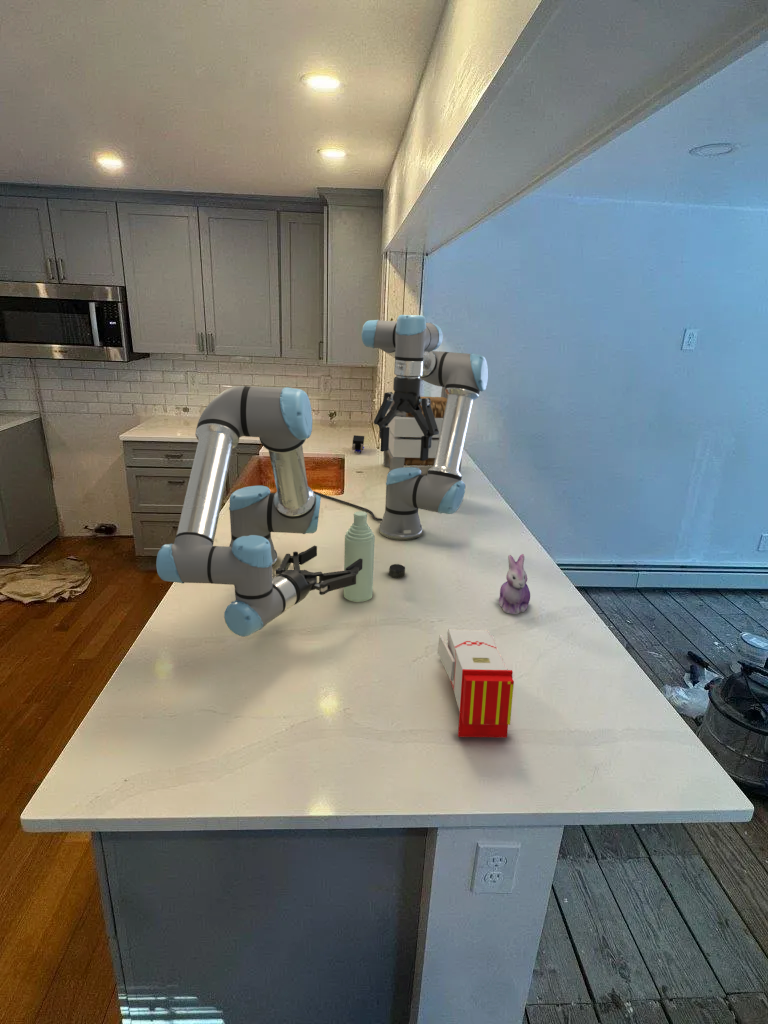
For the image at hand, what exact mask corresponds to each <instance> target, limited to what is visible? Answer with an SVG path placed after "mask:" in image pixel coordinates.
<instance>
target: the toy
mask: <svg viewBox="0 0 768 1024" xmlns="http://www.w3.org/2000/svg"><path fill="white" fill-rule="evenodd" d="M446 640H447V643H446V641H445V639H444V636H443V635H442V634H439V637H438V646H437V656H438V657H439V659H440V661H441V663H442V666H443V668H444V670H445V672H446V674H447V677H448V679H449V681H450V684H451V687H452V690H453V693H454V697H455V701H456V705H457V708H458V711H459V714H458V715H459V716H458V730H457V731H458V732H457V737H458V738H508V731H509V726H510V725H511V717H512V707H513V697H514V696H513V695H514V684H515V680H514V679H513V673H514V671H513V670H512V669H508V667H507V665H506V662H505V661H504V659H503V658H502V655H501V653H500V651H499V649H498V647H497V643H496V639H495V637H494V635H493V634H491V632H490V631H489V629H467V628H466V629H465V628H463V629H461V628H460V629H459V628H448V630H447V639H446Z"/></svg>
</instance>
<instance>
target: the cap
mask: <svg viewBox="0 0 768 1024" xmlns="http://www.w3.org/2000/svg"><path fill="white" fill-rule="evenodd" d="M405 575H406V567H405V566H404V565H402V564H399V563H394V564H391V565H389V568H388V576H389V577H390V578H392V579H402V578H404V577H405Z"/></svg>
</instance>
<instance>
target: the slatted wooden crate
mask: <svg viewBox="0 0 768 1024" xmlns="http://www.w3.org/2000/svg"><path fill="white" fill-rule="evenodd" d="M440 393H441V394H440V396H420V397H421V398H430V399H431V408H432V412H433V415H434V418H435V421H436V424H437V427H438V430H439V434H437V435H433V436H432V442H431V448H429V451H428V459H427V460H423V461H421V460H420V452H421V437H422V436H424V434H423V432H422V430H421V429H420V427H419V425H418V423H417V421H416V420H415V418H414V416H413V415H411V413H406V412H398V413H397V414H396V416H395V417H394V418H393V419H392V420H391V422H390V423H389V424H388V425H387V426H386V427H389V449H388V450H387V451H383V466H384V467H388V468H389V472H390V471H391V470H393V469H397V468H404V467H405V466H406V467H417V466H418V467H432V466H433V465H434V461H435V456H436V451H437V446H438V441H439V437H440V432H441V427H442V422H443V417H444V413H445V408H446V403H447V398H448V396H447V394H446V393H445V387H441V392H440ZM394 404H395V402H394V400H393V401H392V402H391V405H390V407H389V409H388V411H387V413H386V415H387V414H388V412H389V411H390V410H391V407H392V406H393V405H394ZM420 404H421V403H420ZM420 404H419V407H420V408H421V410H422V406H421V405H420ZM415 411H416V410H415ZM422 414H423V416H424V413H423V410H422ZM386 415H385V416H386ZM424 418H425V416H424ZM462 461H463V460H462V457H461V461H460V466H459V472H460V474H461V475H462V473H461V472H462Z"/></svg>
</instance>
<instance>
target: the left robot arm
mask: <svg viewBox="0 0 768 1024" xmlns="http://www.w3.org/2000/svg"><path fill="white" fill-rule="evenodd" d="M312 411H313V410H312V405H311V401H310V398H309V395H308V393H307V392H306V391H305V390H303V389H301V388H293V387H290V386H286V387H285V386H284V387H276V386H275V387H274V386H249V385H248V386H247V385H235V386H232V387H230V388H226V389H225V390H223V391H221V392H220V393H219V394H217V395H215V397H213V398H212V400H211V401H210V402H209V403H208V404H207V405H206V407H205V409H204V410H203V411H202V413H201V415H200V416H199V418H198V421H197V425H196V429H195V438H196V439H197V445H196V449H195V454H194V458H193V461H192V466H191V470H190V474H189V480H188V483H187V487H186V492H185V496H184V501H183V503H182V504H183V505H182V509H181V514H180V516H179V521H178V525H177V528H176V529H177V530H176V534H175V538H174V542H173V543H165V544H163V545H162V546H160V549H159V550H158V552H157V556H156V562H155V563H156V564H155V565H156V566H155V567H156V572H157V575H158V577H159V578H160V579H161V580H162V581H163V582H170V583H177V584H178V583H180V584H211V585H212V584H213V585H230V586H231V585H233V587H234V597H235V598H234V599H235V600H232V601H230V603H229V604H228V605H227V606H226V608H225V610H224V611H223V618H224V622H225V625H226V626H227V627H228V629H229V630H230V631H231V632H232V633H233V634H235V635H236V636H239V637H243V638H244V637H245V638H246V637H249V636H251V635H252V634H254V633H256V632H258V631H260V630H262V629H263V628H264V627H265V626H267V625H268V624H270V623H271V622H272V621H273V620H275V619H276V618H278V617H279V616H281V615H282V614H283V613H285V612H287V611H288V610H289V609H291V608H292V607H294V606H295V605H297V604H299V603H300V602H301V601H303V600H305V598H306V597H307V595H308V594H309V592H312V591H315V590H316V591H318V592H319V593H318V594H319V595H321V596H323V595H326V594H327V593H330V592H333V591H336V590H340V589H344V587H347V586H351V585H355V584H356V575H357V574H358V573H359V571H360V570H362V562H363V559H361V558H360V559H358V560H357V561H355V562H354V563H352V564H351V565H350V566H348V567H347V568H346V570H345V571H344V570H338V571H331V572H322V571H315V572H313V571H309V570H307V569H301V566H303V565H304V564H306V563H307V562H309V561H310V560H312V559H314V558H316V557H317V556H318V546H317V545H312V546H311V547H309V548H308V549H306V550H304V551H300V552H298V551H293V552H292V555H291V553H285V555H284V557H283V559H282V561H281V563H280V564H279V566H278V567H277V568H276V569H275V571H274V573H275V574H274V577H273V568H274V567H275V566H276V565H277V563H278V560H279V559H278V558H279V557H278V552H277V550H276V549H275V545H274V542H273V540H272V533H285V534H289V533H290V534H302V535H307V534H315V533H316V532H317V531H318V526H319V518H320V509H321V501H322V498H321V497H322V496H320V495H317V494H314V493H313V491H314V490H313V489H312V488H311V487H310V486H309V483H308V478H307V477H308V476H307V469H306V463H305V455H304V448H303V445H304V444H305V442H306V440H307V439H309V438H310V437H311V436H312V432H313V414H312ZM242 437H248V438H249V437H250V438H259V442H260V444H261V445H262V447H263V448H264V449H266V450H267V451H268V456H269V459H270V464H271V469H272V473H273V479H274V484H275V487H276V492H271V489H270V488H269V487H268V486H265V485H251V486H244V487H242V488H238V489H235V491H233V492H232V493H230V496H229V506H228V510H229V523H230V538H231V539H230V543H229V546H224V545H223V546H222V545H214V542H215V539H216V533H217V529H218V524H219V519H220V513H221V508H222V503H223V499H224V493H225V488H226V483H227V480H228V479H227V478H228V474H229V469H230V465H231V464H230V463H231V458H232V453H233V449H234V448H236V447H237V446H238V445H239V443H240V438H242ZM291 564H292V567H293V569H290V566H291Z"/></svg>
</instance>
